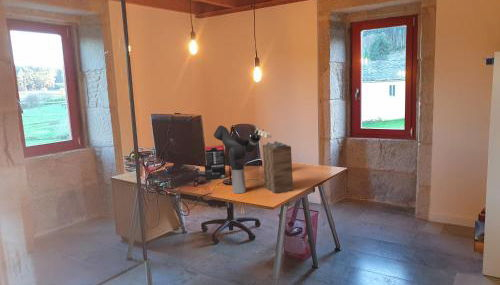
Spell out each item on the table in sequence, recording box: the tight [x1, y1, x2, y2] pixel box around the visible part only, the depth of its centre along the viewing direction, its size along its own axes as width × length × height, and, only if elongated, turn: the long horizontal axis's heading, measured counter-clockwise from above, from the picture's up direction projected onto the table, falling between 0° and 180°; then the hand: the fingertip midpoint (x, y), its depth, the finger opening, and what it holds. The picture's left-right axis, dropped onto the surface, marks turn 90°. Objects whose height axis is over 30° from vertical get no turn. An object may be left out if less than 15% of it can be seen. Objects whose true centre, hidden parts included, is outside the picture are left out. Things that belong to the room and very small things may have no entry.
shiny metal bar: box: [254, 128, 272, 139], centre depth 294 cm, size 24×4×3 cm, turn 20°
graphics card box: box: [204, 144, 227, 180], centre depth 315 cm, size 17×7×27 cm, turn 98°
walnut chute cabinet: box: [262, 141, 294, 194], centre depth 275 cm, size 18×14×34 cm
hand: (260, 130), depth 298 cm, fingers closed on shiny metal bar, 4 cm apart
